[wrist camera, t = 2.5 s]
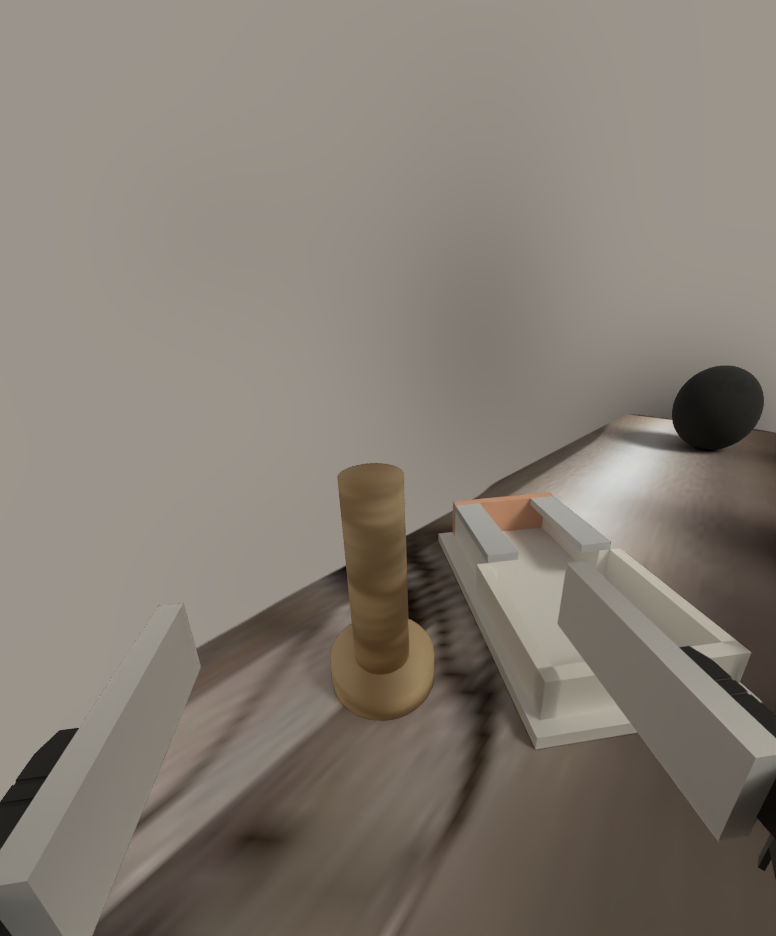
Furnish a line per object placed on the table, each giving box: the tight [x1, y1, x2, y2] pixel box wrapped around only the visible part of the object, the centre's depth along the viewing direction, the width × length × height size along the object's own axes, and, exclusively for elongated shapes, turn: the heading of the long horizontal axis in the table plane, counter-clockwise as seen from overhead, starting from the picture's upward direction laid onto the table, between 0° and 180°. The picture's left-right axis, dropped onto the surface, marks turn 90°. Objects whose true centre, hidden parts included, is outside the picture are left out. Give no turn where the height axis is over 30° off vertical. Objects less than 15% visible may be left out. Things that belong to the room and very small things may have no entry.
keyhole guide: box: [438, 493, 762, 749], centre depth 34 cm, size 15×24×5 cm, turn 7°
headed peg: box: [330, 463, 434, 720], centre depth 26 cm, size 8×8×16 cm
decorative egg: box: [672, 366, 764, 450], centre depth 69 cm, size 12×12×15 cm
